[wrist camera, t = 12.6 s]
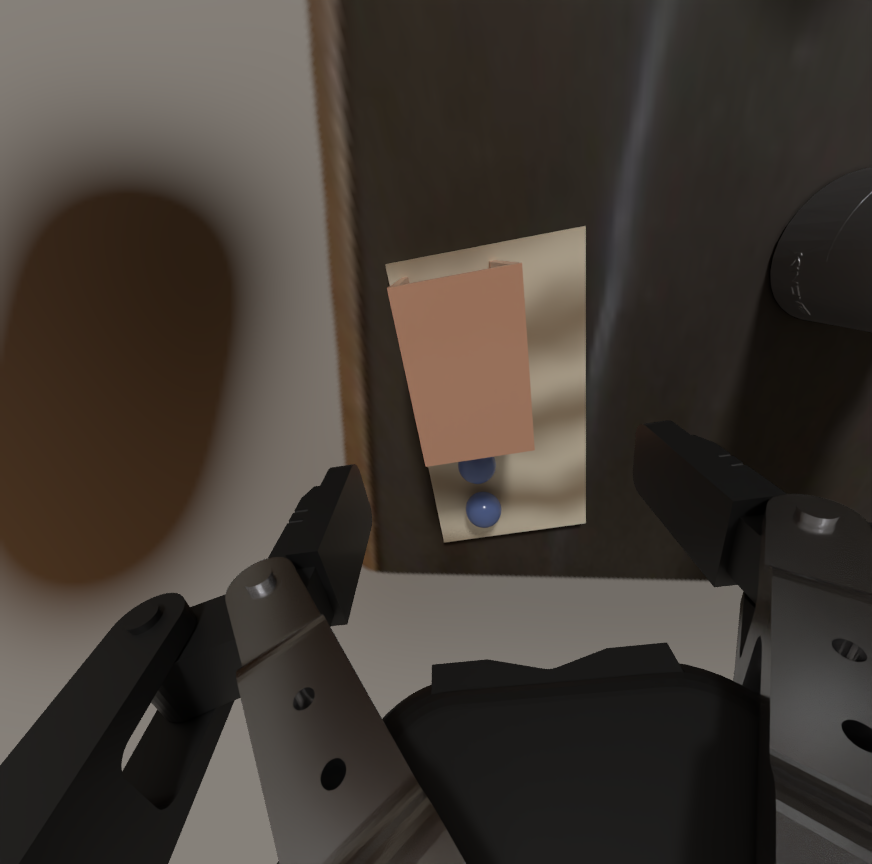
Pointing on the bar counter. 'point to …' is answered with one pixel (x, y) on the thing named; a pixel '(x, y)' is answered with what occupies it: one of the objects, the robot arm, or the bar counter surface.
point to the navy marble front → (477, 470)
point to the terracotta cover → (467, 362)
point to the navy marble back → (483, 509)
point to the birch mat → (550, 388)
